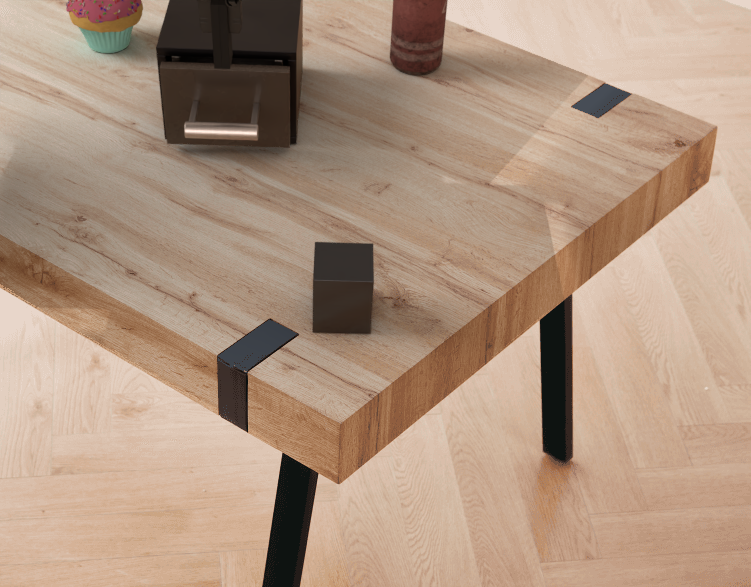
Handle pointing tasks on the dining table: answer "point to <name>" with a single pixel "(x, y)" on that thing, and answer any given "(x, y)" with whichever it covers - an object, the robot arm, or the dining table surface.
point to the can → (417, 35)
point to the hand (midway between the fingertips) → (223, 61)
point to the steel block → (343, 287)
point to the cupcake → (105, 22)
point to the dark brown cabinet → (241, 40)
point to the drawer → (226, 102)
